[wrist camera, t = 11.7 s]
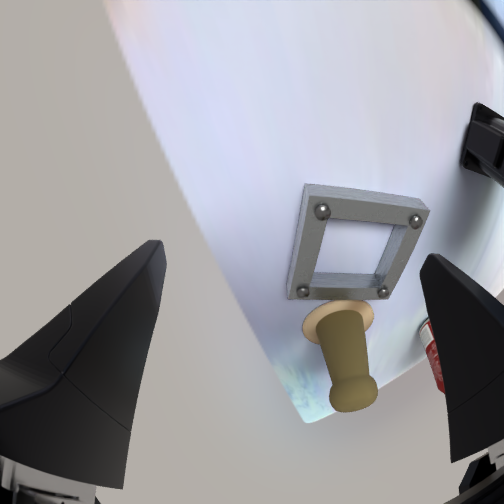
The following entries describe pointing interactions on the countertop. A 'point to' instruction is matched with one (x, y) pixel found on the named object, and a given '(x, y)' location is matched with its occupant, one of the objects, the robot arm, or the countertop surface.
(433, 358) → the soda can
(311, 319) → the cork coaster
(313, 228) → the grey square frame
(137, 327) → the robot arm
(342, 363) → the pepper shaker
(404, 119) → the countertop surface
